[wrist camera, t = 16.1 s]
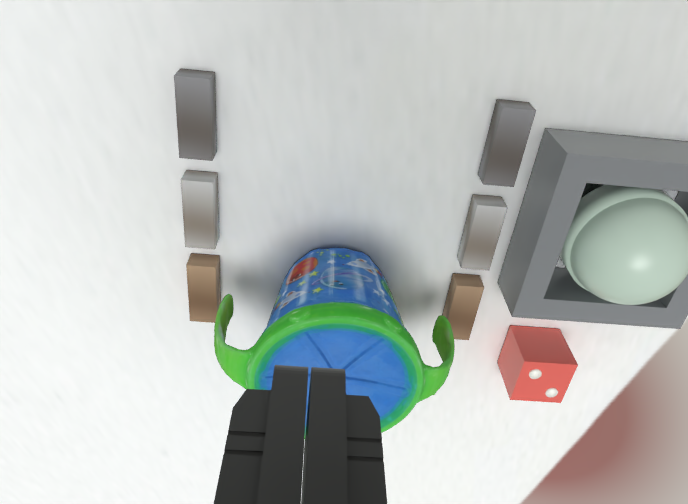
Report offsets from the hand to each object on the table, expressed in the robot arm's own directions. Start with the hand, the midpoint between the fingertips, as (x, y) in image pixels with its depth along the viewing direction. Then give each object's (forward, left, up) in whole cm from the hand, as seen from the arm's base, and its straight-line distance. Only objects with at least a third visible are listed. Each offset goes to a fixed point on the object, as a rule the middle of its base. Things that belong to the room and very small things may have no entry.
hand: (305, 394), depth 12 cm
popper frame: (+8, +20, -25) cm, 33 cm away
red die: (+20, +18, -25) cm, 37 cm away
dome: (+8, +20, -25) cm, 33 cm away
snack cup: (+15, +2, -25) cm, 30 cm away
